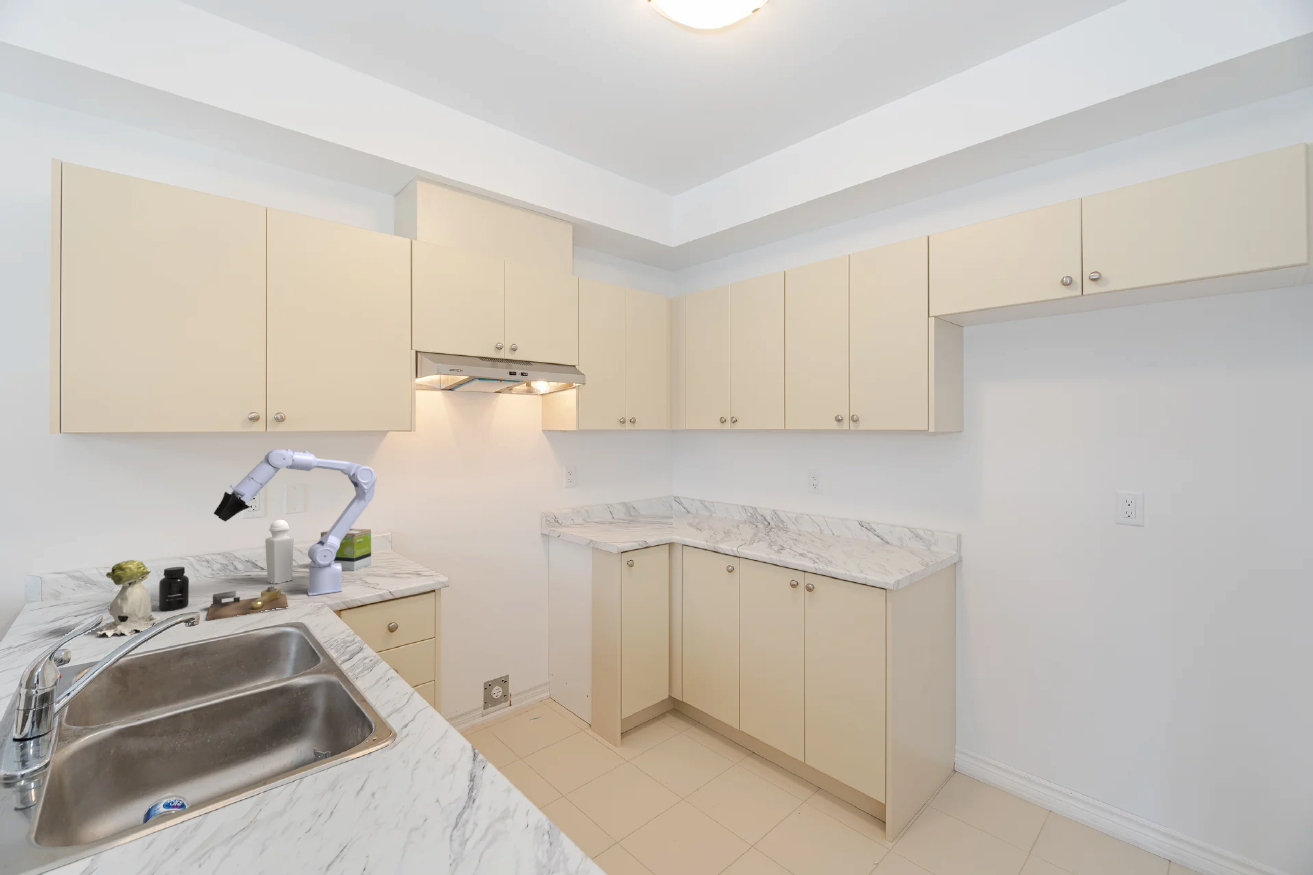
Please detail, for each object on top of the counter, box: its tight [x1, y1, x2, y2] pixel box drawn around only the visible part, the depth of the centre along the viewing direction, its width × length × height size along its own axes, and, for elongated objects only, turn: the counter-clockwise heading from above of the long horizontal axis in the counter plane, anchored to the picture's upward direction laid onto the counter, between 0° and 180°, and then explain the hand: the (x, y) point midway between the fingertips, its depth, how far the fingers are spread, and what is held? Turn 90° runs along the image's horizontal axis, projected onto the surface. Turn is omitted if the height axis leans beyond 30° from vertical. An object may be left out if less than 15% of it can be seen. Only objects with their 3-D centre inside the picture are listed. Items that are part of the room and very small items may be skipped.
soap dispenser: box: [265, 519, 294, 584], centre depth 200 cm, size 6×6×22 cm
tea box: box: [320, 528, 372, 572], centre depth 221 cm, size 15×10×15 cm, turn 81°
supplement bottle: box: [158, 566, 190, 612], centre depth 170 cm, size 7×7×12 cm
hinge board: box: [206, 585, 289, 622], centre depth 170 cm, size 19×16×4 cm
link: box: [251, 587, 282, 609], centre depth 172 cm, size 14×5×2 cm, turn 15°
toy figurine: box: [96, 559, 160, 638], centre depth 152 cm, size 12×13×18 cm
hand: (219, 517), depth 169 cm, fingers open, 7 cm apart
